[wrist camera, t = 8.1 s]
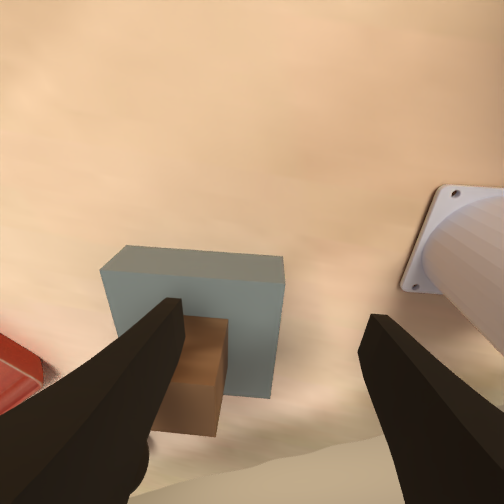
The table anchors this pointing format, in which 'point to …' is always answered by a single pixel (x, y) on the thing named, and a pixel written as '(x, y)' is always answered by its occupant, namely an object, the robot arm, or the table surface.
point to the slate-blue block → (207, 302)
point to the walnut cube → (197, 380)
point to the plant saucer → (17, 374)
